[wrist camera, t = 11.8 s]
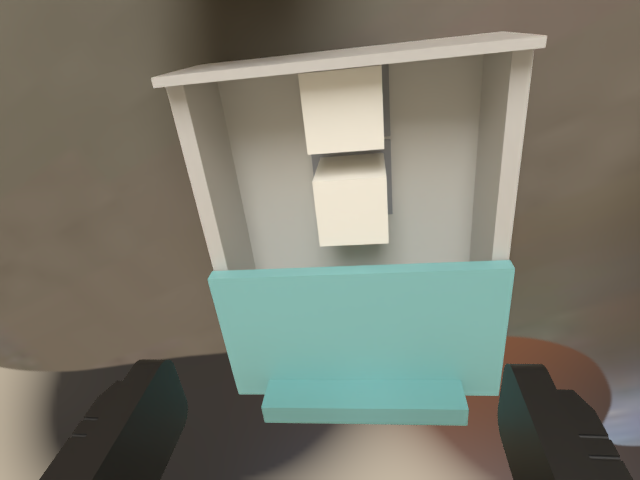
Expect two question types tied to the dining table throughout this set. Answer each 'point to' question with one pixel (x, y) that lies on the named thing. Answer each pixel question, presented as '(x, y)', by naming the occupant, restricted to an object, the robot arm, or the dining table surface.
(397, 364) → the teal lid
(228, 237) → the grey housing
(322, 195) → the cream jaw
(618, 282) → the dining table surface
